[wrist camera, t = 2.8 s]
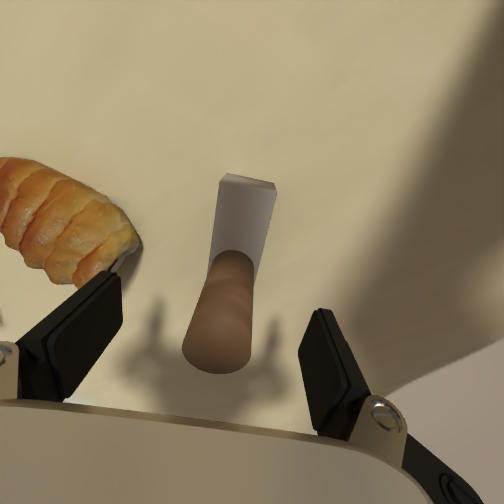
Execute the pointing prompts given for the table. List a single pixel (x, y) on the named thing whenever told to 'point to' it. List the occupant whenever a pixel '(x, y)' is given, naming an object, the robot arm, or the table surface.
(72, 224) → the pastry
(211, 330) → the stamp with brown handle
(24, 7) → the table surface
